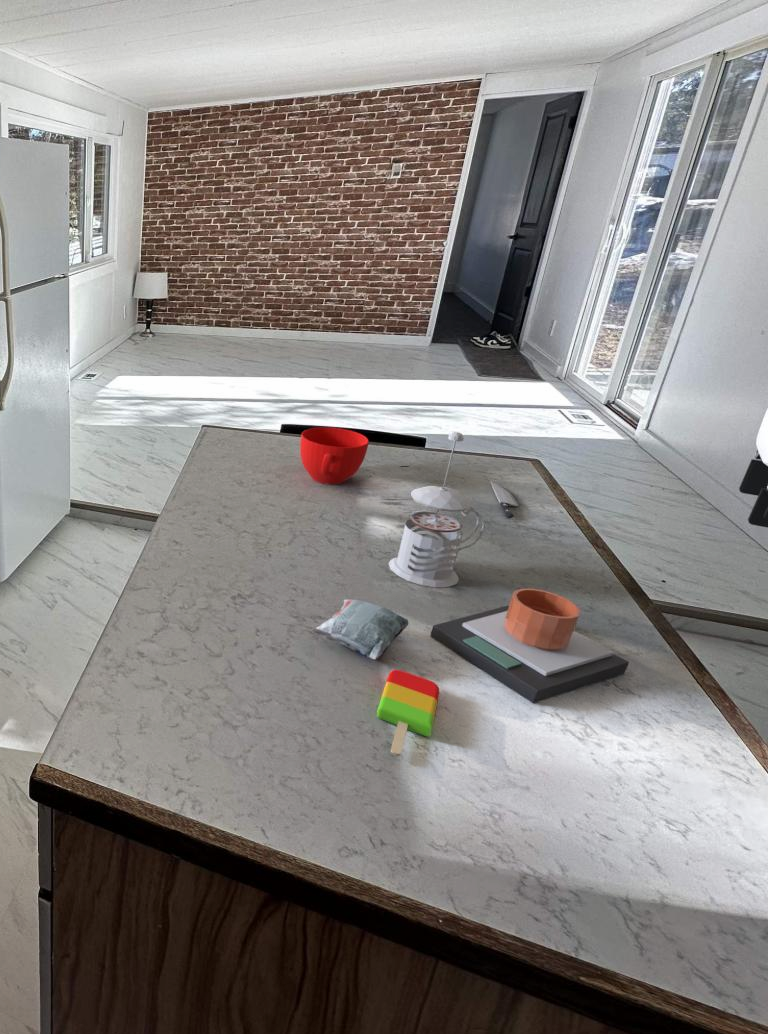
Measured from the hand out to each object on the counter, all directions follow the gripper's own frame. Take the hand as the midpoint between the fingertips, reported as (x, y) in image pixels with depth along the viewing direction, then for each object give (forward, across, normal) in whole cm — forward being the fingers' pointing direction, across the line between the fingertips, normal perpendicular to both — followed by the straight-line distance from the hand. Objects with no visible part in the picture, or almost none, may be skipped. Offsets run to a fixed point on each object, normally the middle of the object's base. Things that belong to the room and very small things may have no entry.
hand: (764, 510), depth 70 cm
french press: (+26, +14, +29) cm, 42 cm away
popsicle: (+26, -26, +24) cm, 44 cm away
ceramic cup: (+26, +42, +53) cm, 73 cm away
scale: (+26, -2, +15) cm, 30 cm away
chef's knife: (+26, +53, +23) cm, 63 cm away
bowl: (+24, -1, +14) cm, 28 cm away
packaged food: (+26, -12, +33) cm, 44 cm away
